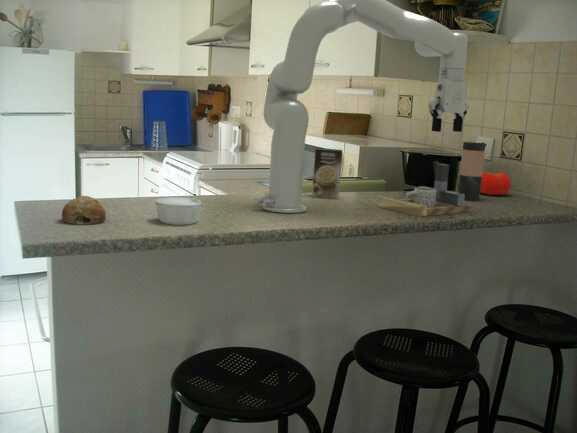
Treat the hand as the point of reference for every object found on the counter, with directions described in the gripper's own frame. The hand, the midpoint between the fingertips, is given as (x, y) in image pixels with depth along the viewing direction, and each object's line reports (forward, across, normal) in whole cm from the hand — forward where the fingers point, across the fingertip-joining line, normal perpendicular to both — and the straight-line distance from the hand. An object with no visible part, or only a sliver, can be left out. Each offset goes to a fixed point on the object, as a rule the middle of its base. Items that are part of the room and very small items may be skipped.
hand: (446, 131), depth 196 cm
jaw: (+22, -1, 0) cm, 22 cm away
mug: (+24, -10, 0) cm, 26 cm away
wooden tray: (+24, -7, 0) cm, 25 cm away
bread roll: (+23, -108, +17) cm, 111 cm away
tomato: (+25, +47, +16) cm, 56 cm away
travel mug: (+25, +26, +10) cm, 38 cm away
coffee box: (+24, -23, +30) cm, 45 cm away
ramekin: (+24, -87, +9) cm, 90 cm away
